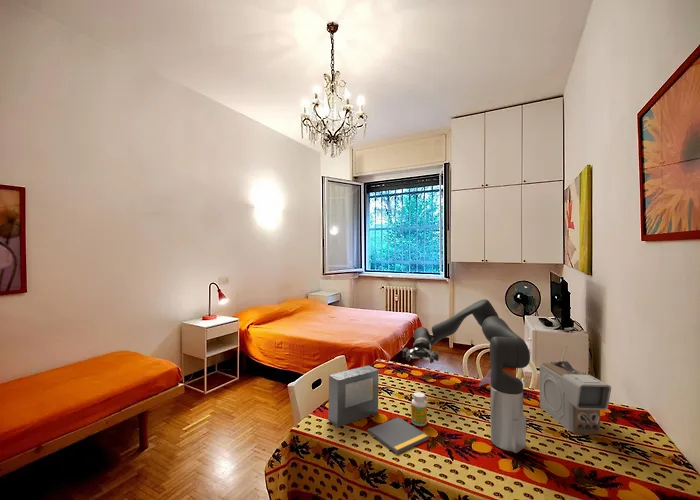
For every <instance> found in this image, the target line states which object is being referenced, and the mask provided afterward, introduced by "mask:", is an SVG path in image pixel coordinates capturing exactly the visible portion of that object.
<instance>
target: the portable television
mask: <svg viewBox="0 0 700 500" xmlns="http://www.w3.org/2000/svg"><path fill="white" fill-rule="evenodd" d="M571 333H572V332H571V331H569V333H568V338H567V340H566V344H565V346H564V350H563V352H562V353H563V354H562V357H561V360H560V361H550V362H542V363H539V407H540V408H541V410H543V411H545V412H546V413H547V415H549V416H551V418H553V420H555V421H556V422H557V423H558V424H560V425H561V426H562V427H563V428H564V429H566V430H567V431H568V432H570V433H572V434H577V435H579V434H580V435H582V434H583V435H601V411H606V410H607V409H608V408H609V403H610V399H611V398H610V397H611V392H612V386H611V385H609V384H607V383H606V382H604V381H602V380H600V379H598V378H596V377H594V376H592V374H591V375H590V374H587V372H583V371H582V372H581V371H579V370H577V369H575V368H574V367H573V366H572V365H571V364H570V363H569V361H567V360H566V361H565V360H564V359H565V354H566V351H567V347H568V342H569V339H570V336H571Z"/></svg>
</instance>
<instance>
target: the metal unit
mask: <svg viewBox="0 0 700 500" xmlns="http://www.w3.org/2000/svg"><path fill="white" fill-rule="evenodd" d="M377 414H379V369H377V368H375V367H374V366H371V365H369V364H368V365H363V366H360V367H356V368H352V369H348V370H347V369H346V370H343V371H339V372H335V373H331V374H330V373H329V374H328V417H327V418H328V421H329V422H330V423H331V424H333V425H334V426H335V427H336V428H340V427H343V426H346V425H348V424H351V423H354V422H357V421H359V420H363V419H365V418H369V417H371V416H373V415H377Z"/></svg>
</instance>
